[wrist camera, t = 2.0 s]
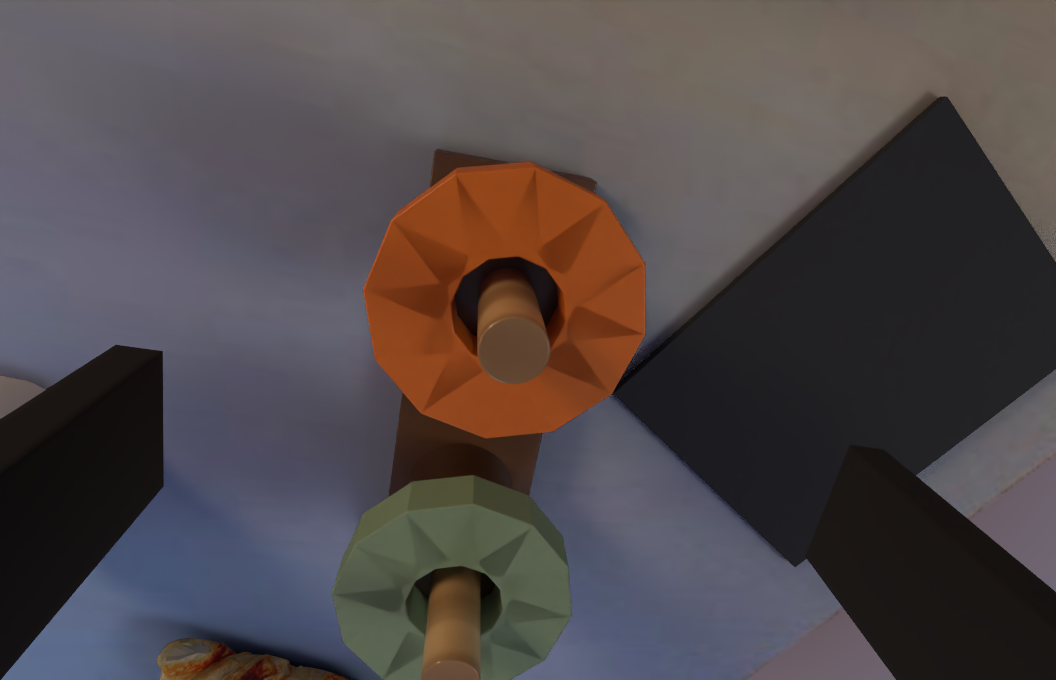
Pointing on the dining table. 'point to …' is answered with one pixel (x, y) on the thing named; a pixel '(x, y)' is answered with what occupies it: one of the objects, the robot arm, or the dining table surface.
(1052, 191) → the dining table surface
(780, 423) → the mat
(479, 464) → the peg rack
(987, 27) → the dining table surface
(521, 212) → the orange disc
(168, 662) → the croissant
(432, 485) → the green disc
